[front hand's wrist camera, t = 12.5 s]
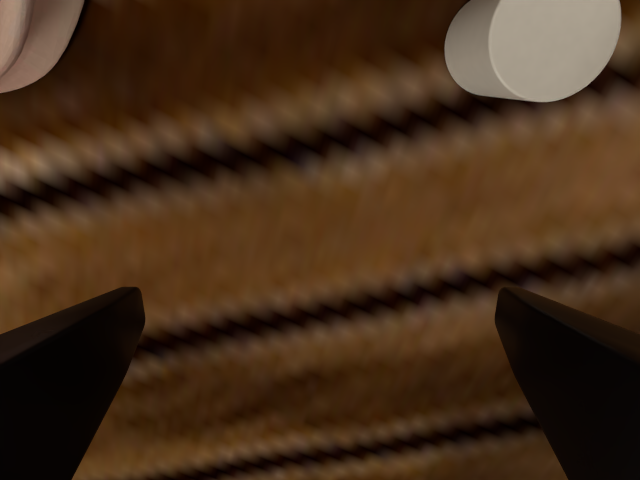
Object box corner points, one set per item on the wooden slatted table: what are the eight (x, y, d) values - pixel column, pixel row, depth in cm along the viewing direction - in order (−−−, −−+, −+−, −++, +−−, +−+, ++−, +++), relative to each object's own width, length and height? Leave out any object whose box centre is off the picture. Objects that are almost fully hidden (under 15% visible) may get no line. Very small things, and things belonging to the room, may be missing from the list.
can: (478, -29, 16) (540, -71, 12) (560, 20, 17) (651, -1, 12) (426, 68, 18) (463, 65, 13) (505, 112, 18) (568, 124, 14)
